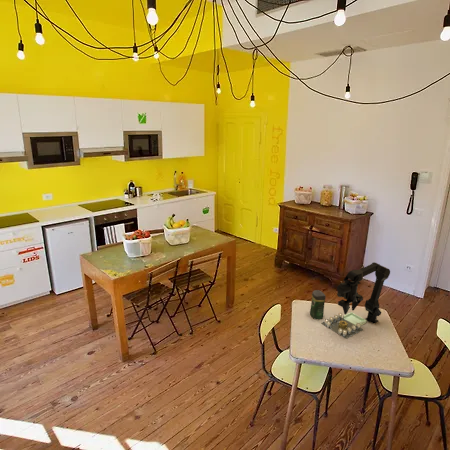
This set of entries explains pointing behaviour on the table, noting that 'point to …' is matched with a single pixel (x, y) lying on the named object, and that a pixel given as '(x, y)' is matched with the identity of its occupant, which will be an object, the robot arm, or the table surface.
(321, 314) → the coffee jar
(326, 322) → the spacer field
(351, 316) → the tray
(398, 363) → the table surface
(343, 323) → the gear
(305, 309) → the table surface
